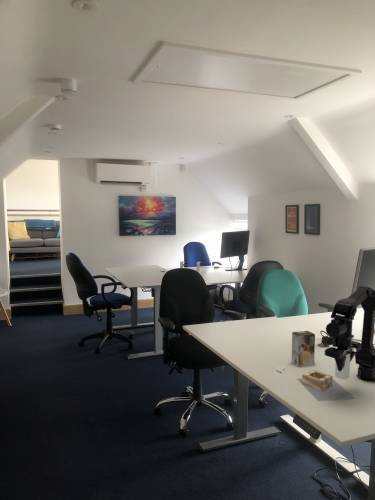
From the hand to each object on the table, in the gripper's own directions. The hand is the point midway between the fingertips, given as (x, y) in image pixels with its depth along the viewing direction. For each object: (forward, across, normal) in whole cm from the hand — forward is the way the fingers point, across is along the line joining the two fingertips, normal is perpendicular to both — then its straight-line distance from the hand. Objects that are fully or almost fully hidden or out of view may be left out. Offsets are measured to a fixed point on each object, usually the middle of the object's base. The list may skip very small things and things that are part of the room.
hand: (342, 369), depth 163 cm
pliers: (+12, +3, -29) cm, 31 cm away
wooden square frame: (+11, -1, -12) cm, 16 cm away
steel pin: (+3, 0, 0) cm, 3 cm away
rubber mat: (+11, 0, -8) cm, 13 cm away
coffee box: (+11, -16, -30) cm, 35 cm away
